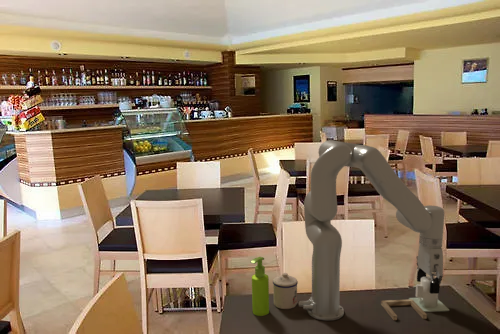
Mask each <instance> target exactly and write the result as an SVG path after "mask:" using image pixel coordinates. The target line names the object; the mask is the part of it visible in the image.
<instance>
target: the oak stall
mask: <svg viewBox="0 0 500 334" xmlns="http://www.w3.org/2000/svg"><path fill="white" fill-rule="evenodd" d="M380 305H381V306H382V307H383V309H384V310H385V311H386V312H387V314H388V315H389V317H390V318H391V319H392V320H393V321H397V320H398V315H397V314H396V313H395V311H394V310H393V309H392V308H391V307H393V306H411V308H412V309H414V311H416V313H417V314H418V315H419V316H420V317H421V319H423V320H426V319H428V317H427V316H428V314H427V312H424V311H423V310H422V309H421V308H420V307H419V306H418V305H417V304H416V303H415V302H414V301H413V300H412V299H409V298H408V299H388V300H387V299H386V300H381V301H380Z"/></svg>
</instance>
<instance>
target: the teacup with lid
mask: <svg viewBox="0 0 500 334" xmlns="http://www.w3.org/2000/svg"><path fill="white" fill-rule="evenodd" d="M272 284H273V285H272V286H273V287H272V289H273V305H274V307H276V308H278V309H282V310H290V309H294V308H295V307H296V306H298V284H299V281H298V279H297V278H296V277H294V276H292V275H289V274H288V273H286V272H284V273H282V274H281V275H278V276H275V277H274V278H273V280H272Z"/></svg>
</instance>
